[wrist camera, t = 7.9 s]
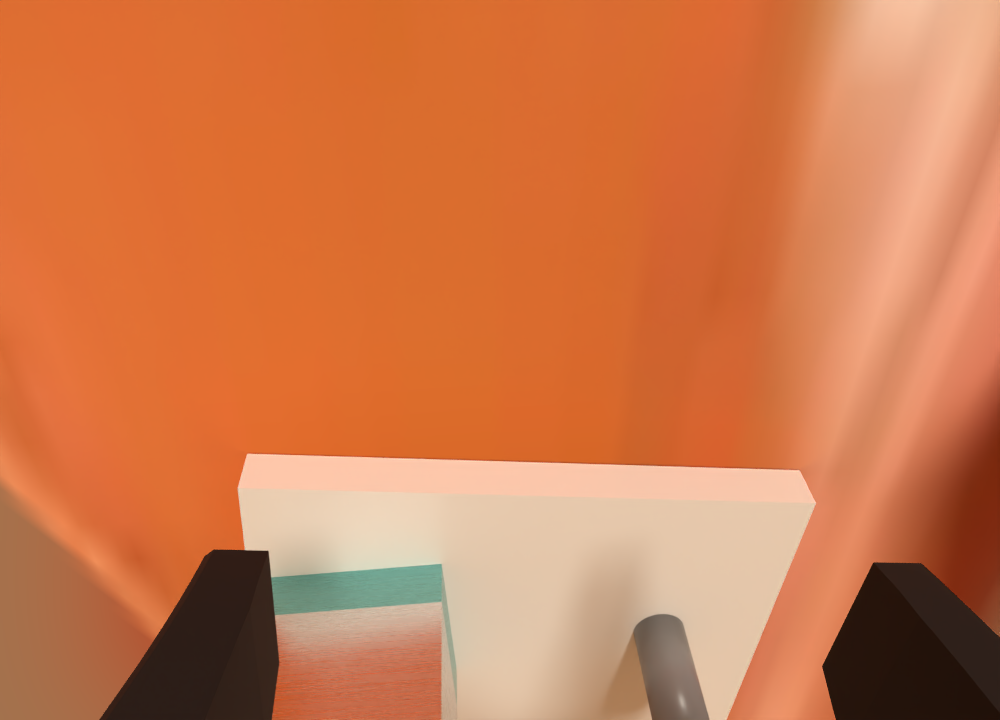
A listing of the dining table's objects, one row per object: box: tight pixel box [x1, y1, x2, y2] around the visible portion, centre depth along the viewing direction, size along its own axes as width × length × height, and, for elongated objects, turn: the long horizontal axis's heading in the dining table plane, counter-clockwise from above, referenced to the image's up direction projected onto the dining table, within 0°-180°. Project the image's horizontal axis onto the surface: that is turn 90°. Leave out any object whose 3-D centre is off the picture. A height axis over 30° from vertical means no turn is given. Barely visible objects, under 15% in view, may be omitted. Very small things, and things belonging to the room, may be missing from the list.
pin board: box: [238, 454, 816, 720], centre depth 23 cm, size 14×10×4 cm
